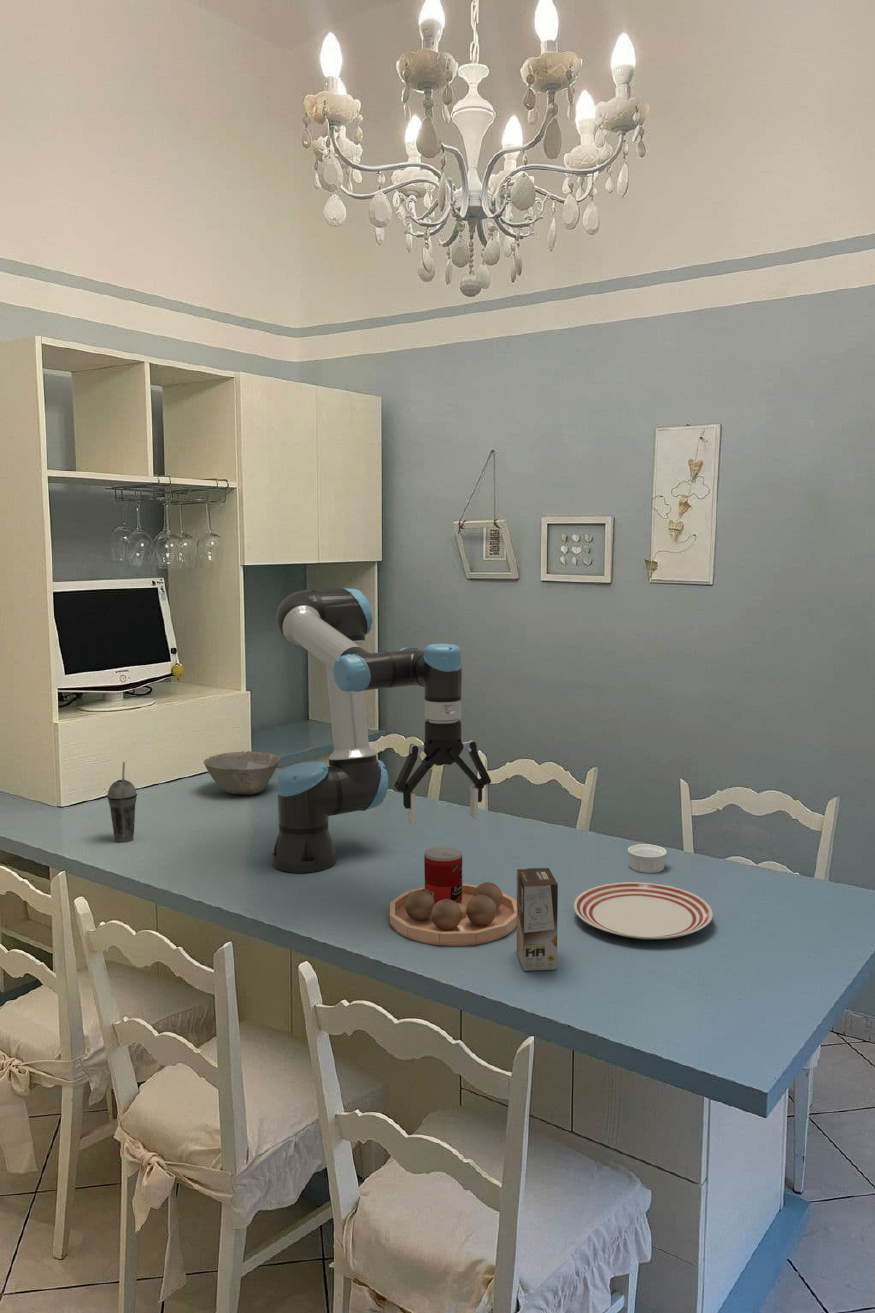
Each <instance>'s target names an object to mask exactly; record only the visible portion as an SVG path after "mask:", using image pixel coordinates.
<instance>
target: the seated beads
mask: <svg viewBox="0 0 875 1313" xmlns="http://www.w3.org/2000/svg"><path fill="white" fill-rule="evenodd" d="M477 886H478V887H477V888H476V889H475V891H474V894H473V898H472V899H471V900H470V901H469V902H468V904H467V908H466V913H467V917H468V919H469V920H470V921H471V922H472V923H473V924H475V925H477V926H486V925H488V924H490V923H491V922H492V921H493V920H494V919H495V917H496V912H497V910H496V909H498V908H499V907H500V905H501V903H502V898H503V897H502V893H503V891H502V889H501V888H500V887H499V886H498V885H497V884H495V883H493V882H489V881H485V882H483V883H480V884H479V885H477ZM405 910H406V912H407V914H408V916H409V917H411V918H412V919H414V920H417V921H423V920H426V919H428V918H429V917H430V916H431V918H432V921H433V923H434V925H435V926H436V927H437V928H439V929H441V930H444V931H449V930H452V929H454V928H456V927H457V926H458V925H459V923H460V921H461V918H462V912H461V908H460V907H459V905H458V904H457V903H456V902H455V901H453V900H450V899H443V900H440V901H438V902H437V903H436V904H435V903H434V899H433V897H432V896H431V895H430V894H429V893H428V892H426V891H424V890H416V891H413V892H412V893H410V894H409V895H408V897H407V899H406V901H405Z"/></svg>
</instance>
